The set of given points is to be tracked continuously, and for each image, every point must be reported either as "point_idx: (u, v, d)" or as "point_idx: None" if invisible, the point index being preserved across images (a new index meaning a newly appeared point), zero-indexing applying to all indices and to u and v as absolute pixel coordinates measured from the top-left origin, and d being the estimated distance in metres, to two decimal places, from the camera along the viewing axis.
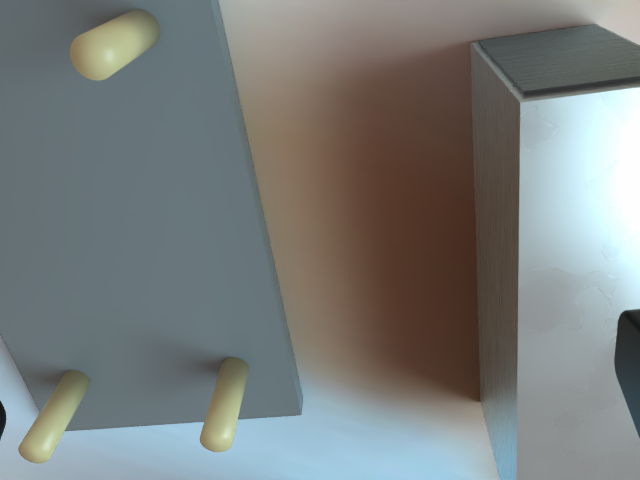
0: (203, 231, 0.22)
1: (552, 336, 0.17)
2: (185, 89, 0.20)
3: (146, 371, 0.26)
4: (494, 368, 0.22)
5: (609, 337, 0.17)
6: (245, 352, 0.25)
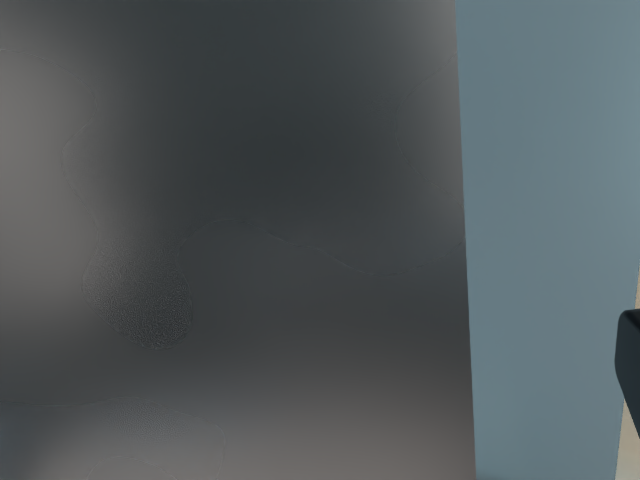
0: (515, 251, 0.11)
1: None
2: None
3: None
4: None
5: None
6: (532, 474, 0.13)
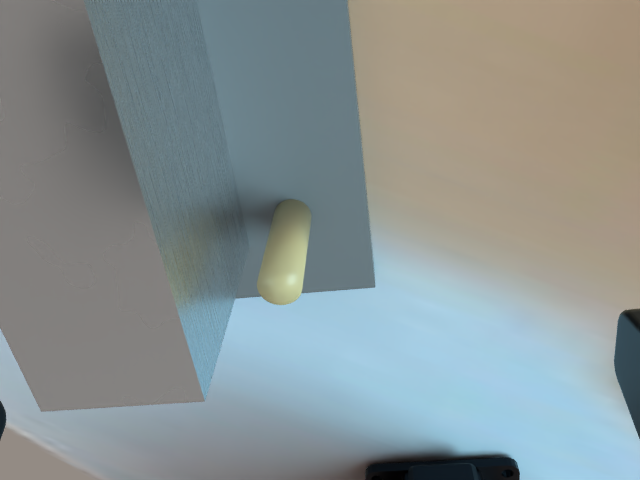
0: None
1: None
2: None
3: None
4: None
5: None
6: (308, 192, 0.19)
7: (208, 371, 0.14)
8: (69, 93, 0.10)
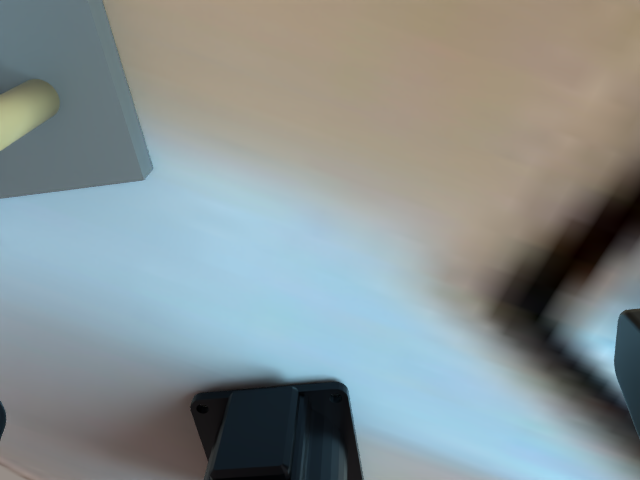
0: None
1: None
2: None
3: None
4: None
5: None
6: (50, 70, 0.18)
7: None
8: None
